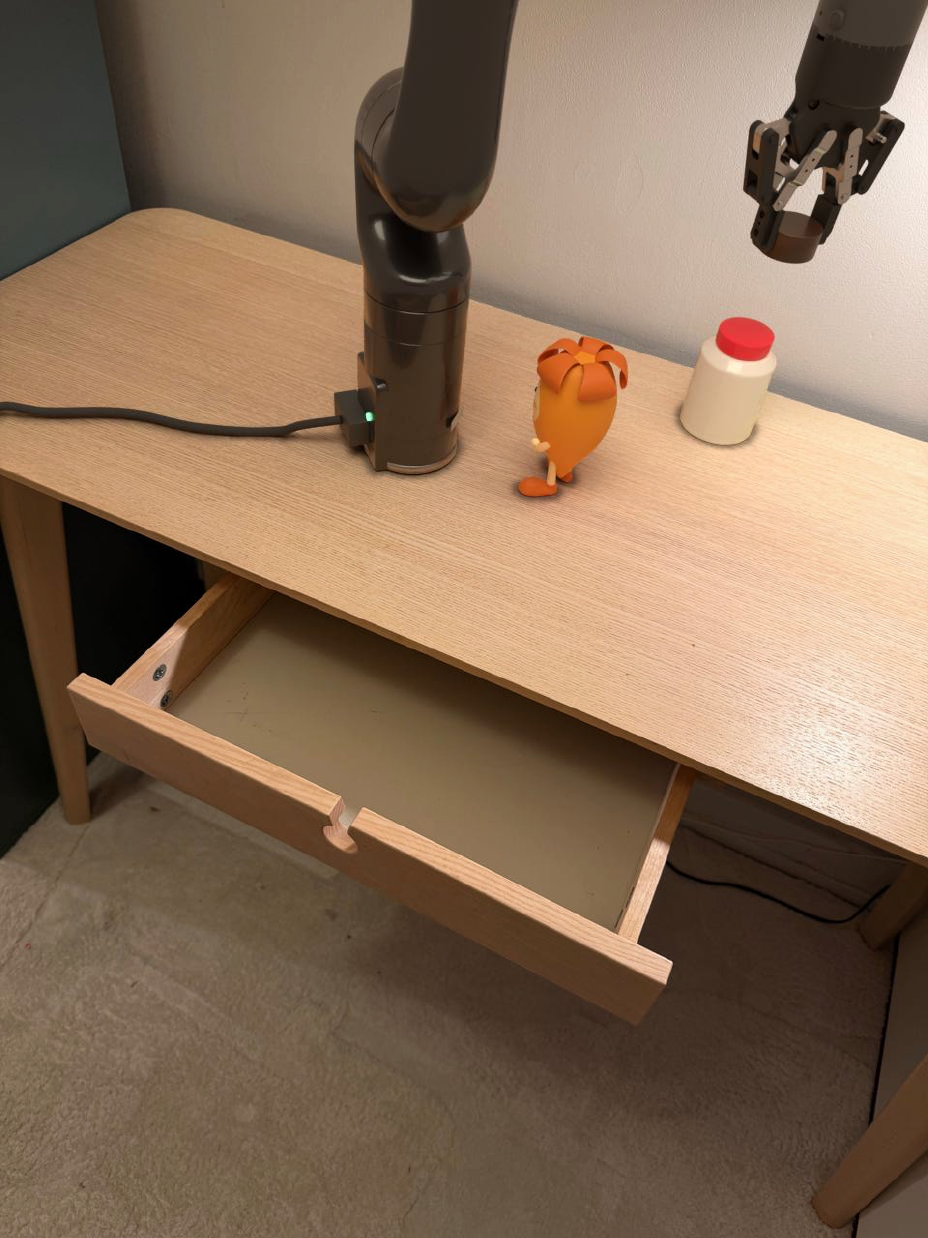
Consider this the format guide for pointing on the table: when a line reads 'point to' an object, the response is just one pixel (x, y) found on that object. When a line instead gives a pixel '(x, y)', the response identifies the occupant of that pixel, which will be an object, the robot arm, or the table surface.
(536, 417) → the toy figure
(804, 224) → the brown hockey puck
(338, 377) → the table surface
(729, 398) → the pill bottle
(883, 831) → the table surface
